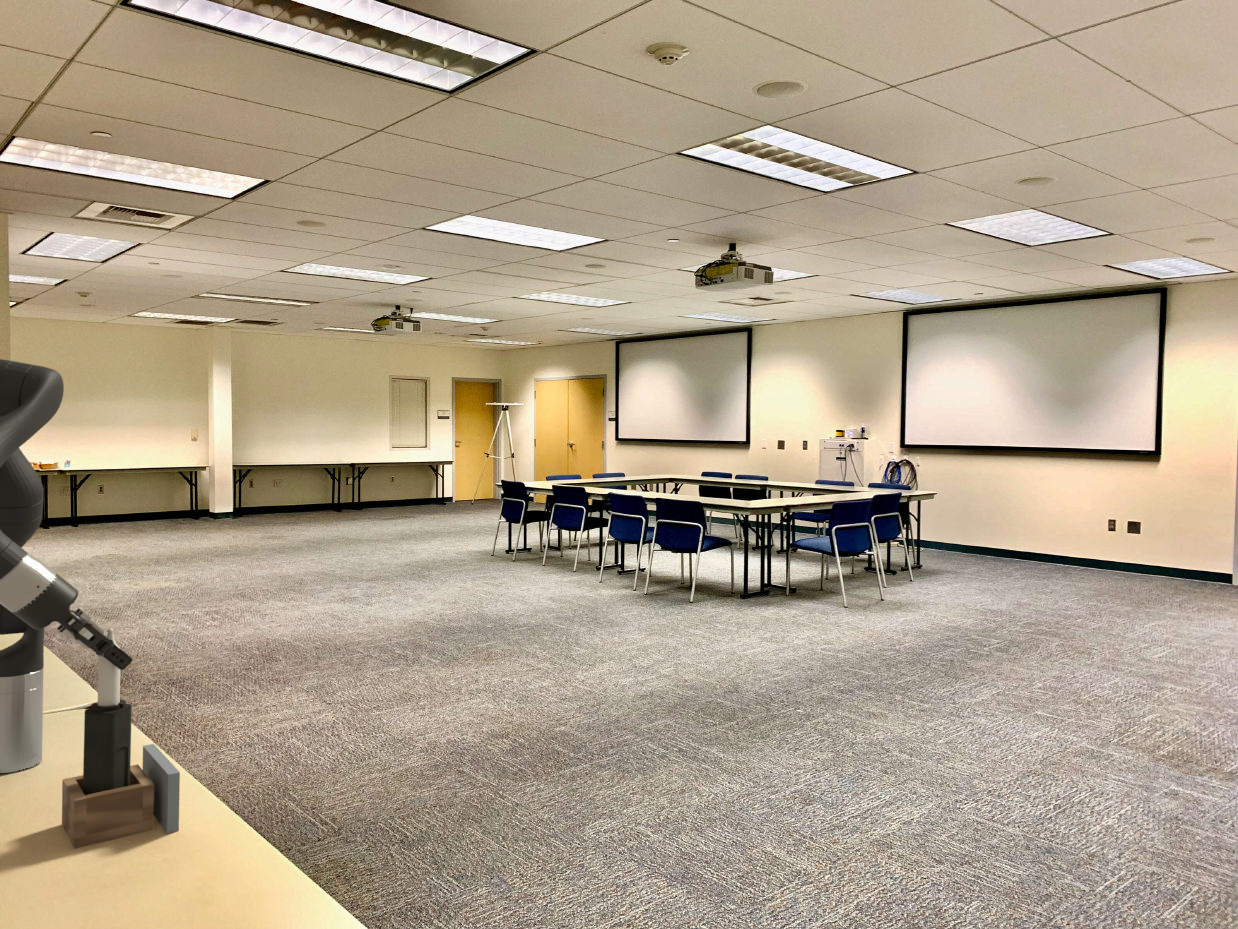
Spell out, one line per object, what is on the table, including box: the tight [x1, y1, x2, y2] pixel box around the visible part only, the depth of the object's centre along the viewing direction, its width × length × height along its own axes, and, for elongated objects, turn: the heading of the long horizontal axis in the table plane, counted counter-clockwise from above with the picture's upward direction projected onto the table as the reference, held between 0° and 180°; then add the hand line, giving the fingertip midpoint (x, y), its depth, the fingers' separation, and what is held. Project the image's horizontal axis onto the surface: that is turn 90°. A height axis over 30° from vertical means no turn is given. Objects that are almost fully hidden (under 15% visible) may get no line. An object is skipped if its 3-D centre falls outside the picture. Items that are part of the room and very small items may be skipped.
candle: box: [82, 627, 133, 795], centre depth 132 cm, size 5×5×25 cm
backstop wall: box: [142, 743, 181, 834], centre depth 137 cm, size 16×2×9 cm, turn 41°
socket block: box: [61, 764, 154, 849], centre depth 132 cm, size 10×10×7 cm
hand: (124, 662), depth 133 cm, fingers closed on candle, 3 cm apart
